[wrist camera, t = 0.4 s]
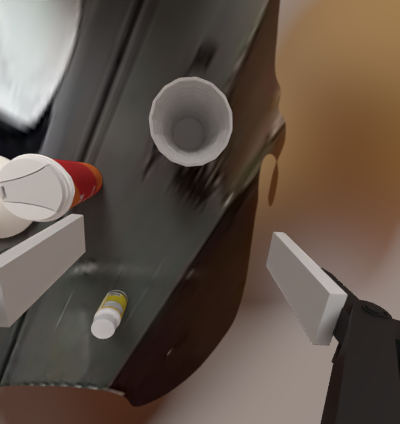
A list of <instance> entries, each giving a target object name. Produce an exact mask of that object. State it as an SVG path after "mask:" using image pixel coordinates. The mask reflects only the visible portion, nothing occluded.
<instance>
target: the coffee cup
mask: <svg viewBox="0 0 400 424" xmlns="http://www.w3.org/2000/svg"><path fill="white" fill-rule="evenodd" d="M102 183H103V180H102V176H101V173H100V172H99V170H98V169H97V168H96V167H94V166H92V165H90V164H87V163H82V162H74V161H66V160H58V159H51V158H49V157H46V156H43V155H38V154H25V155H21V156H18V157H16V158H14V159H13V160H11V161H10V162H8V163H7V164H6V165H4V167H3V168H2V169H1V170H0V198H2V200H3V201H4V202H2V203H3V205H4V206H5V207H6V208H7V209H8V210H9V211H10V212H11V213H13V214H14V215H16V216H18V217H20V218H23V219H26V220H31V221H37V222H48V221H52V220H56V219H58V218H60V217H61V216H63V215H64V214H65V213H66V212H67V211H68V210H69V209H70V208H72V207H74V206H76V205H77V204H79V203H81V202H83V201H85V200H86V199H88V198H90V197H92V196H93V195H95V194H96V193H97V192H98V191H99V190H100V189H101V187H102Z"/></svg>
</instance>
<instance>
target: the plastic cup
mask: <svg viewBox="0 0 400 424" xmlns="http://www.w3.org/2000/svg"><path fill="white" fill-rule="evenodd" d="M149 124H150V132H151V137H152V139H153V140H154V142H155V144H156V146H157V148H158V150H159V151H160V152H161V153H162V154H163V155H165V156H166V157H167V158H168V159H169V160H170V161H172V162H174V163H177V164H180V165H183V166H186V167H187V166H201V165H204V164H206V163H208V162H210V161H212V160H214V159H216V158H217V157H218V155H219V154H220V153H221V152H222V151H223V150H224V149H225V147H226V146H227V144H228V141H229V138H230V135H231V133H232V111H231V109H230V106H229V104H228V101H227V99H226V97H225V95H224V94H223V93H222V92H221V91H220V90H219V89H218V88H217V87H216V86H215V85H214V84H213V83H211V82H209V81H206V80H204V79H201V78H198V77H185V78H178V79H176V80H174V81H173V82H171V83H169V84H167V85H165V86H164V87H163V88H162V89H161V91H160V92H159V93H158V95H157V96H156V98H155V99H154V100H153V103H152V107H151V111H150V115H149Z"/></svg>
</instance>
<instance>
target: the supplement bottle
mask: <svg viewBox="0 0 400 424" xmlns="http://www.w3.org/2000/svg"><path fill="white" fill-rule="evenodd" d="M127 302H128V298H127V296H126V294H125V293H124V292H122V291H120V290H112V291H110V292H108V293H107V294H106V296H105V297H104V299H103V301H102V303H101V305H100V307H99V309H98V310H97V312H96V314H95V316H94V322H93V324H92V326H91V331H92V334H93V335H94V336H95V337H97V338H100V339H106V338H109V337H111V336H112V335H113V334H114V332H115V330H116V328H117V327H118V325H119V324H120V322H121V319H122V316H123V314H124V311H125V308H126V305H127Z"/></svg>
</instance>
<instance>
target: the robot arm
mask: <svg viewBox="0 0 400 424" xmlns="http://www.w3.org/2000/svg"><path fill="white" fill-rule="evenodd" d="M84 253H85V235H84V218H83V215H78V214H71V215H69V216H67V217H65V218H64V219H62V220H60V221H58V222H57V223H55V224H53V225H51V226H49V227H48V228H46V229H44V230H42V231H41V232H39V233H37V234H35V235H34V236H32V237H30V238H28V239H27V240H25V241H23V242H21V243H20V244H18V245H16V246H13V247H10V248H7V249H5V250H3V251H1V252H0V327H10V326H11V325H12V324H13V323H14V322H15V321H16V320H17V319H18V318H19V317H20V316H21V315H22V314H23V313H24V312H25V311H26V310H27V309H28V308H29V307H30V306H31V305H32V304H33V303H34V302H35V301H36V300H37V299H38V298H39V297H40V296H41V295H42V294H43V293H44V292H45V291H46V290H47V289H48V288H49V287H50V286H51V285H52V284H53V283H54V282H55V281H56V280H57V279H58V278H59V277H60V276H61V275H62V274H63V273H64V272H65V271H66V270H67V269H68V268H69V267H70V266H72V265H73V264H74V263H75V262H76V261H77V260H78V259H79V258H80V257H81V256H82V255H83V254H84ZM266 267H267V268H268V270H269V272H270V273H271V275H272V277H273V279H274V280H275V282H276V284H277V285H278V287H279V289H280V290H281V292H282V293H283V295H284V297H285V299H286V300H287V302H288V304H289V305H290V307H291V309H292V310H293V312H294V314H295V315H296V317H297V319H298V321H299V322H300V324H301V326H302V327H303V329H304V331H305V332H306V334H307V336H308V337H309V339H310V341H311V342H312V344H313V345H326V346H329V345H330V342H331V339H332V337H333V335H334V336H335V338H336V339H337V340H338V342H339V344H338V346H337V349H336V352H335V354H334V357H333V359H332V363H333V367H332V372H331V377H330V382H329V386H328V391H327V396H326V401H325V405H324V410H323V415H322V420H321V424H400V321H399V320H395V319H392V317H391V315H390V314H389V313H388V312H387V311H386V310H384V309H383V308H381V307H380V306H378V305H376V304H374V303H371V302H368V301H364V300H359V299H358V298H357V297H356V296H355V295H354V294H353V293H351V291H349V290H348V289H347V288H346V287H345V286H343V284H342V283H341V282H340V281H338V279H336V277H335V276H333V275H332V274H331V273H330V272H328V271H326V270H325V269H323V268H320V267H319V266H318V265H317V264H316V263H315V262H314V261H313V260H312V259H310V257H308V256H307V255H306V254H305V253H304V252H303V251H302V250H301V249H300V248H299V247H298V246H297V245H296V244H295V243H294V242H293V241H292V240H291V239H290V238H289V237H288V236H287V235H286V234H285V233H283V232H273V236H272V241H271V246H270V250H269V255H268V259H267V263H266Z"/></svg>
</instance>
